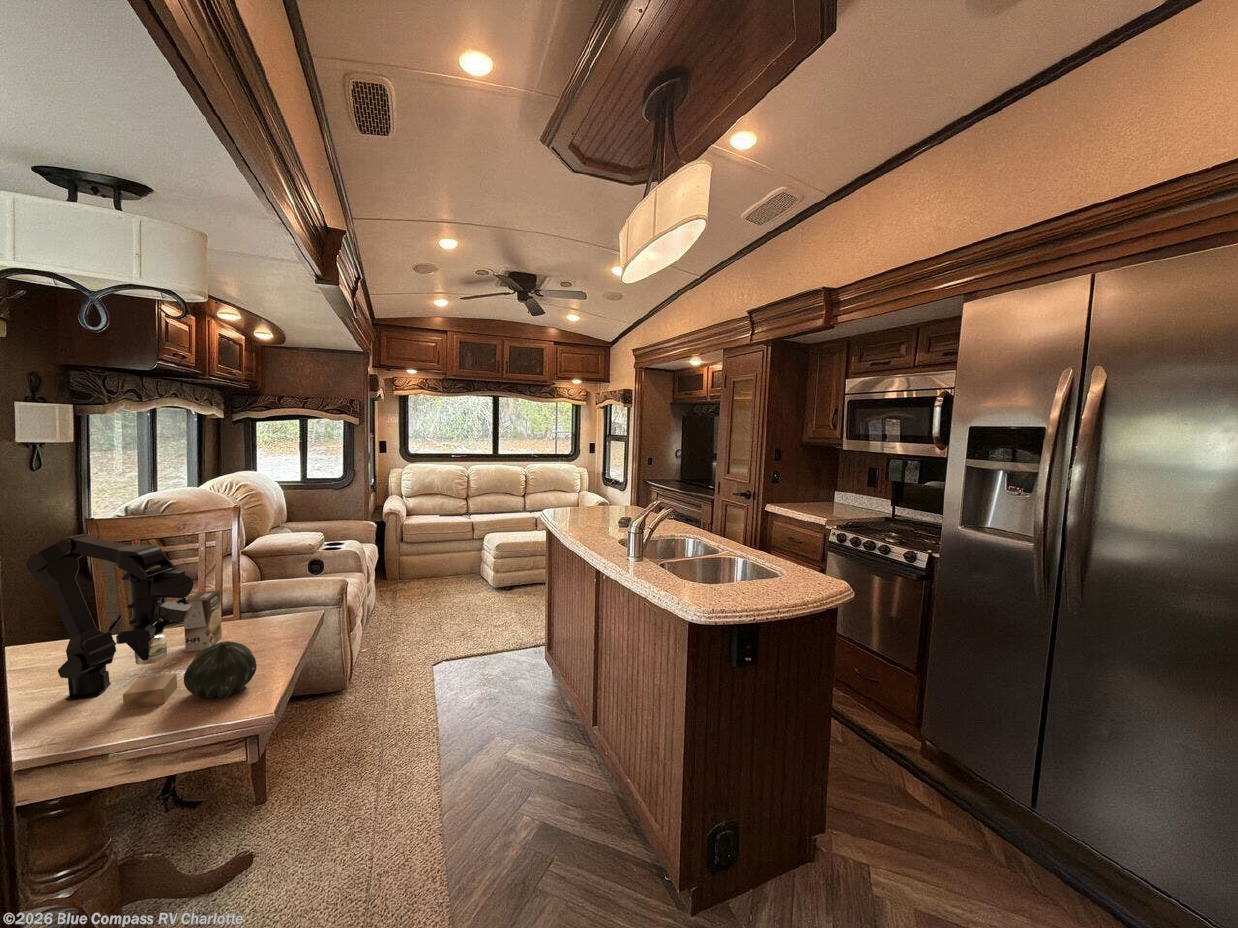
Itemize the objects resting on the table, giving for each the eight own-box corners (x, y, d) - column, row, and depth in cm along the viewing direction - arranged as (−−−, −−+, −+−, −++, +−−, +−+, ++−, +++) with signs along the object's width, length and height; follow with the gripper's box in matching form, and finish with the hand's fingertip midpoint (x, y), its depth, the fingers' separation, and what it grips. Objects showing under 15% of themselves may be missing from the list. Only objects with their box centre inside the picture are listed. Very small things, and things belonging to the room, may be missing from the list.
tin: (130, 666, 127) (129, 643, 126) (141, 655, 132) (139, 633, 132) (162, 662, 129) (160, 639, 129) (171, 651, 135) (169, 630, 134)
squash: (203, 658, 141) (187, 634, 131) (266, 652, 146) (255, 629, 136) (186, 711, 132) (167, 690, 122) (254, 703, 137) (242, 682, 127)
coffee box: (209, 649, 158) (206, 600, 156) (184, 652, 156) (181, 601, 154) (222, 637, 166) (220, 590, 165) (199, 639, 164) (196, 591, 163)
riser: (123, 709, 126) (122, 694, 125) (138, 693, 133) (137, 678, 133) (164, 703, 129) (163, 688, 129) (177, 687, 136) (176, 673, 136)
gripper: (173, 604, 124) (177, 664, 125) (198, 581, 141) (201, 634, 142) (112, 610, 119) (117, 673, 121) (146, 585, 136) (150, 641, 138)
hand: (150, 654), depth 131 cm, fingers closed on tin, 6 cm apart
